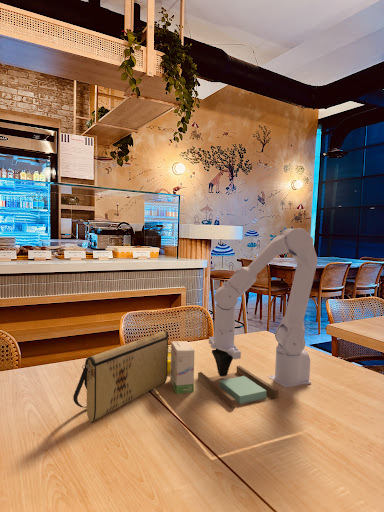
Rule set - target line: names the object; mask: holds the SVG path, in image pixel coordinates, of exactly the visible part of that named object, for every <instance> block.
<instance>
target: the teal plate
mask: <svg viewBox="0 0 384 512" xmlns="http://www.w3.org/2000/svg"><path fill="white" fill-rule="evenodd" d="M219 387H220V388H222V389H223V390H224V391H225V392H227V393H228V394H229V395H230V396H232V397H233V398H234V399H235V401H236V402H238V403H239V404H243V403H248V402H252V401H257V400H261V399H266V392H267V391H266V390H265V389H263V388H262V387H260V386H259V385H257V384H256V383H254V382H253V381H251V380H250V379H248V378H247V377H245V376H241V377H236V378H230V379H225V380H220V384H219Z"/></svg>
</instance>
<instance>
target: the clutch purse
mask: <svg viewBox="0 0 384 512" xmlns="http://www.w3.org/2000/svg"><path fill="white" fill-rule="evenodd" d="M168 346H169V333H168V331H167V330H163V331H159V332H158V333H155V334H152V335H149V336H146V337H143V338H140V339H137V340H135V341H131V342H129V343H126V344H124V345H121V346H117V347H115V348H112V349H108V350H106V351H103V352H100V353H97V354H94V355H92V356H88V357H87V358H85V362H84V364H83V365H82V366H81V367H82V373H81V375H80V378H79V380H78V383H77V385H76V388H75V391H74V394H73V397H72V398H73V399H72V400H73V402H74V404H75V405H77V407H79V408H86V415H87V420H88V421H89V422H90V423H94V421H95V420H98V419H99V418H102V417H103V416H106V415H107V414H109V413H111V412H113V411H115V410H116V409H118V408H120V407H122V406H123V405H126V404H127V403H129V402H131V401H134V400H135V399H136V398H137V399H138V398H139V397H140V396H142V395H144V394H146V393H147V392H150V391H152V390H154V389H155V388H156V387H159V386H160V385H162V384H164V383H166V382H167V380H168V379H167V378H168V373H167V364H168ZM83 385H84V387H85V389H86V406H83V405H82V404H81V403H79V400H78V398H79V396H80V392H81V390H82V387H83Z"/></svg>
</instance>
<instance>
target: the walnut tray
mask: <svg viewBox="0 0 384 512" xmlns="http://www.w3.org/2000/svg"><path fill="white" fill-rule="evenodd" d="M241 376H245V377H247V378H248V379H250V380H251V381H253V382H254V383H256V384H257V385H259V386H260V387H262V388H263V389H265V390H266V391H267V392H266V399H261V400H257V401H252V402H248V403H243V404H239V403H238V402H236V401H235V399H234V398H233V397H232V396H230V395H229V394H228V393H227V392H225V391H224V390H223V389H222V388H220V387H219V384H220V380H225V379H230V378H236V377H241ZM197 380H198V381H199V382H200V383H201V384H202V385H203V386H205V387H206V388H207V389H208V390H209V391H210V392H212V393H213V395H215V396H216V397H218V399H220V400H221V401H222V402H223V403H225V404H226V405H227V407H229V408H230V409H237V408H240V407H245V406H249V405H253V404H254V405H255V404H258V403H262V402H268V401H271V400H275V399H276V400H277V399H279V389H277V388H275V386H273V385H271V384H269V383H267V382H266V381H265V380H263V379H261V378H260V377H258V376H257V375H255V374H254V373H252V372H250V371H249V370H248V369H246V368H245V367H242V366H241V365H237V366H236V372H232V373H228V374H227V376H222V377H221V376H220V375H214V376H210V377H208V376H207V375H206V374H204V372H201V371H199V372H197Z"/></svg>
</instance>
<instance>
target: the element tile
mask: <svg viewBox="0 0 384 512" xmlns="http://www.w3.org/2000/svg"><path fill="white" fill-rule="evenodd" d="M170 373H171V345H168V364H167V374H170Z"/></svg>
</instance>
